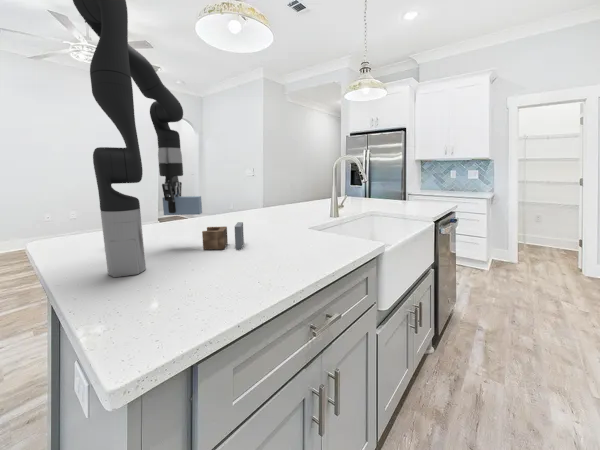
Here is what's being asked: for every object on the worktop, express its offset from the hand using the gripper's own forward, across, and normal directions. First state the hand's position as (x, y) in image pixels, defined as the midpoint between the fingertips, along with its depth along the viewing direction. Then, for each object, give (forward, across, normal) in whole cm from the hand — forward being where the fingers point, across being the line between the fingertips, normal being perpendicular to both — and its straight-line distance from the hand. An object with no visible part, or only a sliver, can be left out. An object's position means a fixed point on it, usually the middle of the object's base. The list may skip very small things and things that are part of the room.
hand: (174, 211), depth 110 cm
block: (+13, 0, +14) cm, 19 cm away
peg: (+1, 0, +3) cm, 3 cm away
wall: (+13, 0, +22) cm, 26 cm away
